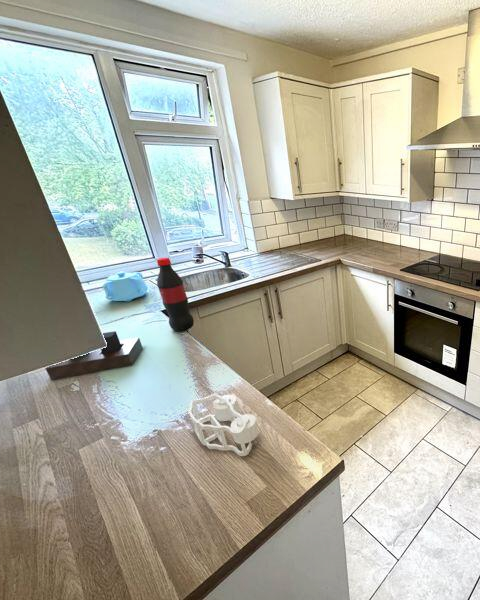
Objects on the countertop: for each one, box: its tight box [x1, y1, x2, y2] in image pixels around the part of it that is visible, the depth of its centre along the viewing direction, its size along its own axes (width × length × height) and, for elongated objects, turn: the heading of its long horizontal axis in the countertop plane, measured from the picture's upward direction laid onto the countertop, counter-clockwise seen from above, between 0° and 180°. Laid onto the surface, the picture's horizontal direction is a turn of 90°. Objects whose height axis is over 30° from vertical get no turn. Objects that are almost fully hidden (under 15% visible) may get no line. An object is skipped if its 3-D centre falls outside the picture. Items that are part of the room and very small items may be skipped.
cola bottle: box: [156, 257, 195, 332], centre depth 130 cm, size 8×8×30 cm
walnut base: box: [45, 336, 143, 381], centre depth 112 cm, size 21×12×4 cm, turn 113°
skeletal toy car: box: [187, 393, 259, 457], centre depth 82 cm, size 20×11×7 cm, turn 48°
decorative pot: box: [102, 270, 148, 303], centre depth 163 cm, size 16×16×14 cm
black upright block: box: [101, 330, 122, 354], centre depth 112 cm, size 4×4×10 cm
